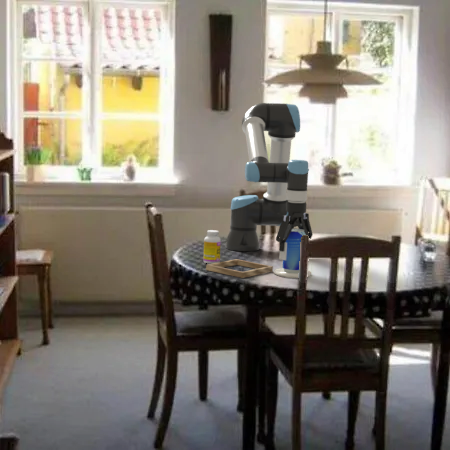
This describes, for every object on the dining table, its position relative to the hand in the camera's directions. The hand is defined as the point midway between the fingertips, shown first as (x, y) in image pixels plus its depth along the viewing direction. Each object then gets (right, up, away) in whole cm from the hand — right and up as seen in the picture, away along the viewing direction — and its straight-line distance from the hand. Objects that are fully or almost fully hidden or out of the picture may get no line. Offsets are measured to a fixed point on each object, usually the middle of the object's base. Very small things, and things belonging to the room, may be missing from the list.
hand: (293, 257), depth 298 cm
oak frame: (-20, -5, +4) cm, 21 cm away
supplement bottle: (-31, -3, +17) cm, 36 cm away
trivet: (0, -6, +1) cm, 6 cm away
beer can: (0, -6, +1) cm, 6 cm away
